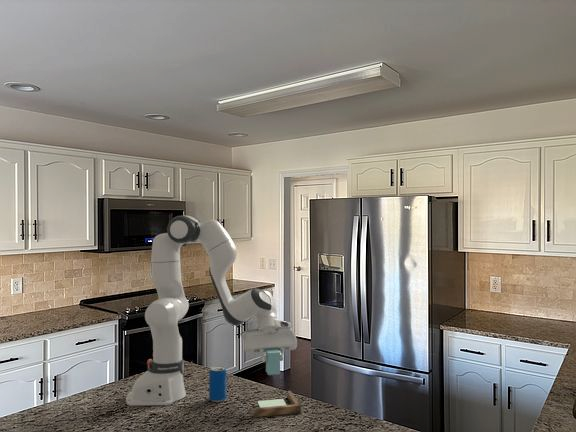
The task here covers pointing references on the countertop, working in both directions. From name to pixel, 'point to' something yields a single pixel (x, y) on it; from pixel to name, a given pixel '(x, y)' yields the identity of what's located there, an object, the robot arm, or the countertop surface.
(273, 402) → the pad
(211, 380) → the beverage can
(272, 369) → the teal block
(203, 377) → the countertop surface
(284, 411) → the corner walls
